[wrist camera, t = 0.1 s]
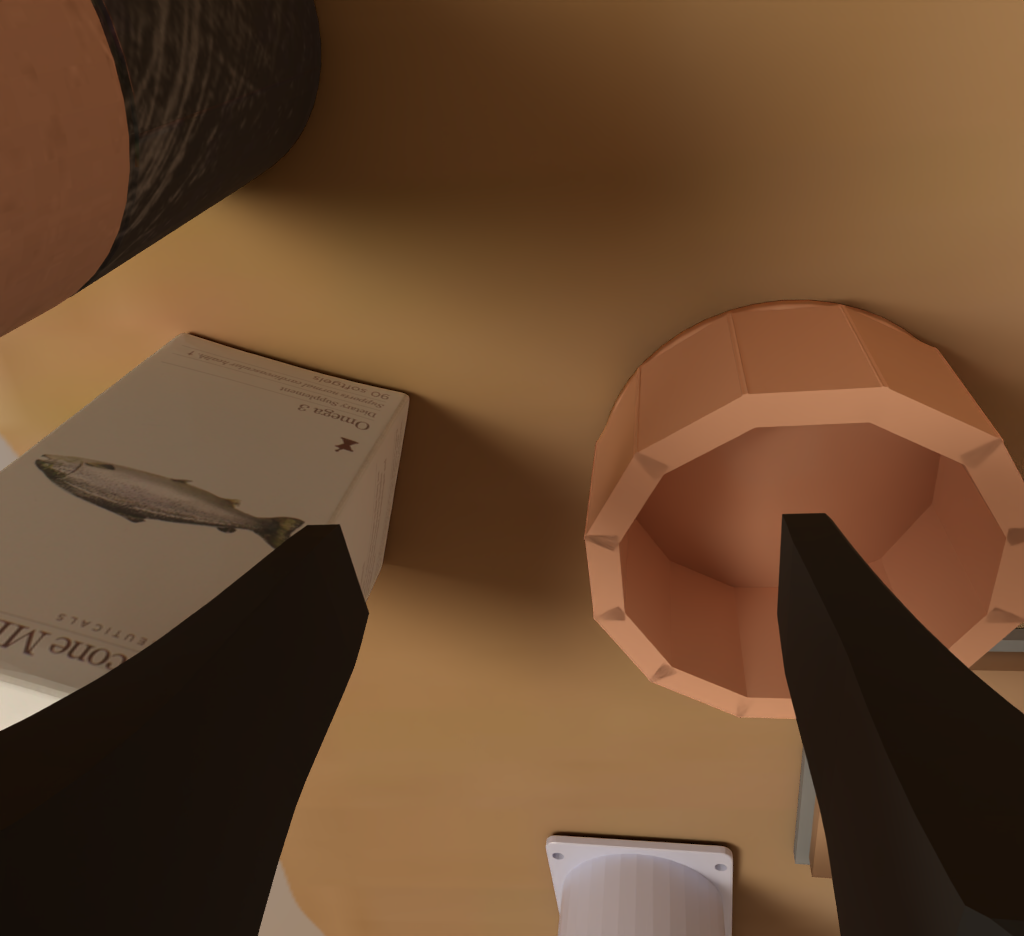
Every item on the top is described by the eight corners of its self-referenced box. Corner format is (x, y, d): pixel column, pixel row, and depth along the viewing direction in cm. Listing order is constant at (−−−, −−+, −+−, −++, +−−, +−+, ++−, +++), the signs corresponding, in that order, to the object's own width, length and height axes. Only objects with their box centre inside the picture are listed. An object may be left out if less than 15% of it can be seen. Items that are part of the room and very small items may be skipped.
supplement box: (417, 388, 23) (217, 747, 12) (385, 567, 27) (215, 948, 17) (178, 320, 23) (-222, 622, 12) (183, 510, 27) (-113, 854, 17)
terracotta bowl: (936, 594, 24) (995, 725, 20) (612, 594, 26) (604, 713, 22) (999, 282, 19) (1096, 374, 15) (585, 314, 21) (567, 402, 17)
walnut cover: (1144, 879, 29) (1203, 990, 26) (808, 857, 32) (825, 956, 28) (1263, 655, 23) (1359, 765, 20) (831, 649, 25) (856, 747, 22)
